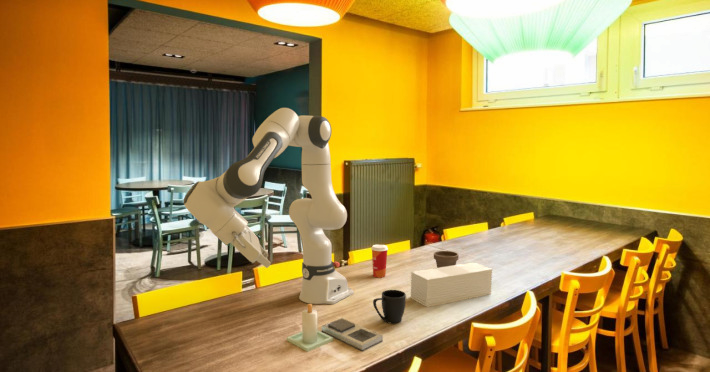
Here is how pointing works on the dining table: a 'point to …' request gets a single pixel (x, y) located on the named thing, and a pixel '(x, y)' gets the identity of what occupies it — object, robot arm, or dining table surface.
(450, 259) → the flower pot
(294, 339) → the tray
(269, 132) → the robot arm
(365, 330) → the grey rectangular piece
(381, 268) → the paper cup
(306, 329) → the white candle
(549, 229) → the dining table surface
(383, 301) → the mug
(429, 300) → the stack of papers
